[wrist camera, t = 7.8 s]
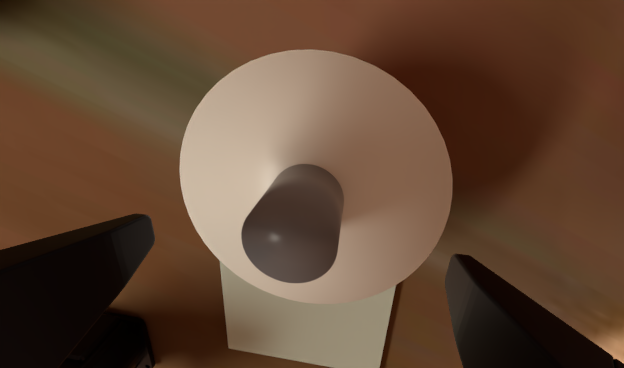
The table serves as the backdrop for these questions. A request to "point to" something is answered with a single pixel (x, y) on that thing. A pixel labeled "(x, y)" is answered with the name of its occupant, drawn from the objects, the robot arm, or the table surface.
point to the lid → (316, 176)
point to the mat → (305, 326)
